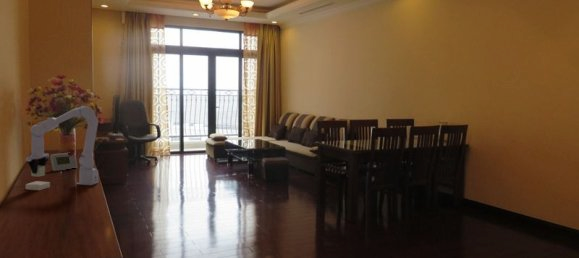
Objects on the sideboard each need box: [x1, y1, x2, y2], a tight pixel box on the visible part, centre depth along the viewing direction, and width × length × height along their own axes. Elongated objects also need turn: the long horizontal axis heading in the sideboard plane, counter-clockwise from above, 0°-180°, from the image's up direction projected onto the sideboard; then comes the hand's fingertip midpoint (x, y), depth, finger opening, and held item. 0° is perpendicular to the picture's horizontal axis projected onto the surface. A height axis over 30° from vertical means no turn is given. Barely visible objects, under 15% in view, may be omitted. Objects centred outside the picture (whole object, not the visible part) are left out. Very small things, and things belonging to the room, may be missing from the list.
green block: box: [30, 165, 46, 178], centre depth 227 cm, size 4×4×5 cm
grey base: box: [25, 180, 51, 191], centre depth 228 cm, size 8×8×3 cm
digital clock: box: [49, 152, 78, 172], centre depth 276 cm, size 16×9×11 cm, turn 133°
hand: (37, 172), depth 227 cm, fingers closed on green block, 4 cm apart
